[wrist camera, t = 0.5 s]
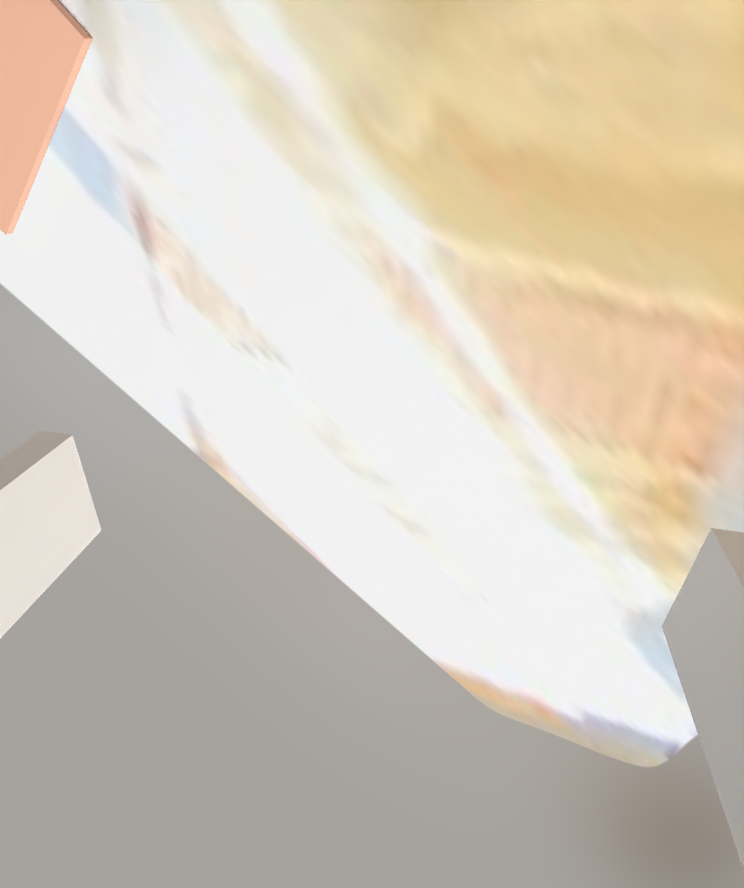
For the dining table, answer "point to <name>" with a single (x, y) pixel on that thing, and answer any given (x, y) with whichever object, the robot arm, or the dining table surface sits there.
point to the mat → (32, 91)
